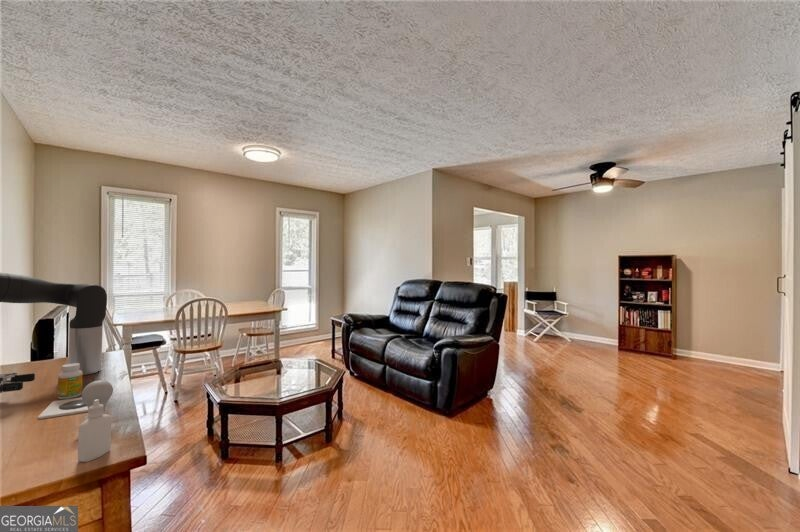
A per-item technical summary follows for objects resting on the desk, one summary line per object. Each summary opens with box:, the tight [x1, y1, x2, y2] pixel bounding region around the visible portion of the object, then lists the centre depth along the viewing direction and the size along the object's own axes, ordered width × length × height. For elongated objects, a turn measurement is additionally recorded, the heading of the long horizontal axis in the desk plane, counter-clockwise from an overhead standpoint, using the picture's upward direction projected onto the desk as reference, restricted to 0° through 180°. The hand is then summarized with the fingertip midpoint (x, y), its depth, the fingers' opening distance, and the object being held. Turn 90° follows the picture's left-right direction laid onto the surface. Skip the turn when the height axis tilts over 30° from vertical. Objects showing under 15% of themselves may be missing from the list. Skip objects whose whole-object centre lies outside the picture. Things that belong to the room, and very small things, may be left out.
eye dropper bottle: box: [77, 399, 112, 463], centre depth 73 cm, size 4×6×12 cm
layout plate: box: [37, 396, 89, 420], centre depth 98 cm, size 12×13×1 cm
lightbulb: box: [81, 379, 114, 414], centre depth 88 cm, size 6×6×11 cm
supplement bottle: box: [57, 363, 84, 400], centre depth 105 cm, size 5×5×10 cm
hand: (28, 381), depth 100 cm, fingers open, 8 cm apart
